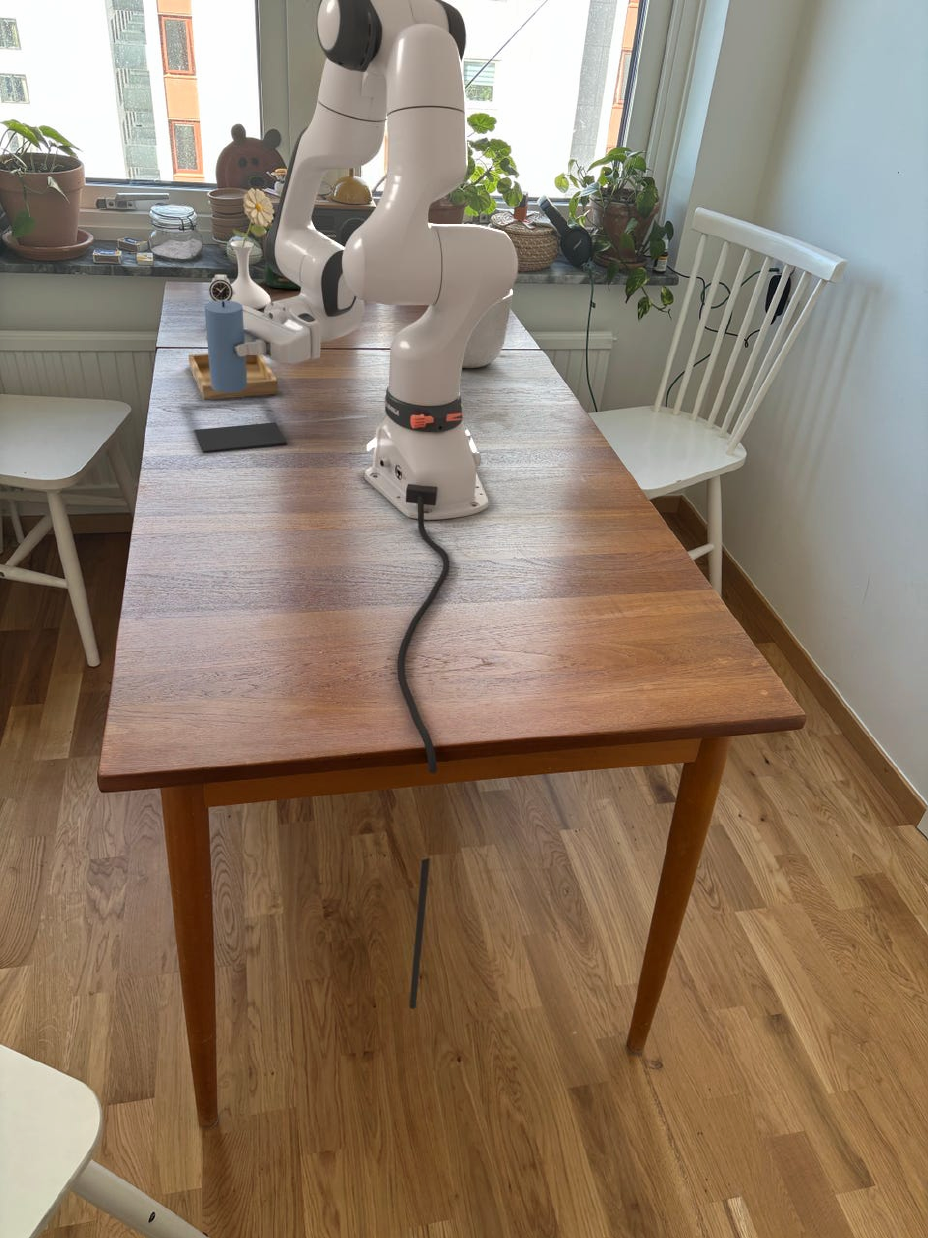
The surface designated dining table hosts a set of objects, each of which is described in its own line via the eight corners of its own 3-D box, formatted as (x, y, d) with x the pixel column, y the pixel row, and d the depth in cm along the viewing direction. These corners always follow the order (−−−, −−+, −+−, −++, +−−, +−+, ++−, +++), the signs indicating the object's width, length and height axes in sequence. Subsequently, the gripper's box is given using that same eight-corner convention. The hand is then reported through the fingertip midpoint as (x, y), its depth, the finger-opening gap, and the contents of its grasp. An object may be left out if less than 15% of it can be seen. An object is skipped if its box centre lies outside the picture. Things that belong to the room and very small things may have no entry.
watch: (210, 334, 197) (206, 281, 190) (212, 321, 203) (208, 269, 196) (237, 335, 198) (234, 282, 191) (238, 321, 204) (235, 270, 197)
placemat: (286, 444, 159) (286, 442, 158) (203, 452, 154) (202, 450, 154) (263, 401, 172) (263, 399, 172) (185, 408, 167) (185, 406, 167)
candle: (250, 391, 157) (245, 306, 149) (214, 394, 155) (207, 308, 147) (243, 377, 162) (238, 294, 153) (208, 379, 160) (200, 296, 151)
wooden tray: (278, 395, 175) (277, 380, 173) (204, 401, 170) (202, 386, 168) (259, 364, 186) (258, 350, 184) (189, 369, 181) (188, 354, 179)
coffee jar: (264, 289, 223) (261, 206, 212) (266, 279, 229) (263, 198, 218) (305, 291, 224) (304, 209, 213) (306, 280, 231) (305, 200, 220)
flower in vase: (231, 317, 206) (223, 196, 191) (212, 301, 213) (203, 183, 198) (285, 311, 212) (282, 193, 197) (265, 295, 219) (260, 181, 205)
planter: (441, 340, 205) (446, 269, 196) (515, 355, 201) (523, 284, 192) (412, 365, 192) (416, 290, 183) (490, 382, 188) (498, 307, 179)
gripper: (246, 291, 165) (181, 307, 157) (326, 324, 156) (260, 343, 147) (248, 326, 169) (185, 343, 160) (326, 361, 159) (262, 381, 151)
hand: (221, 343), depth 153 cm, fingers closed on candle, 6 cm apart
